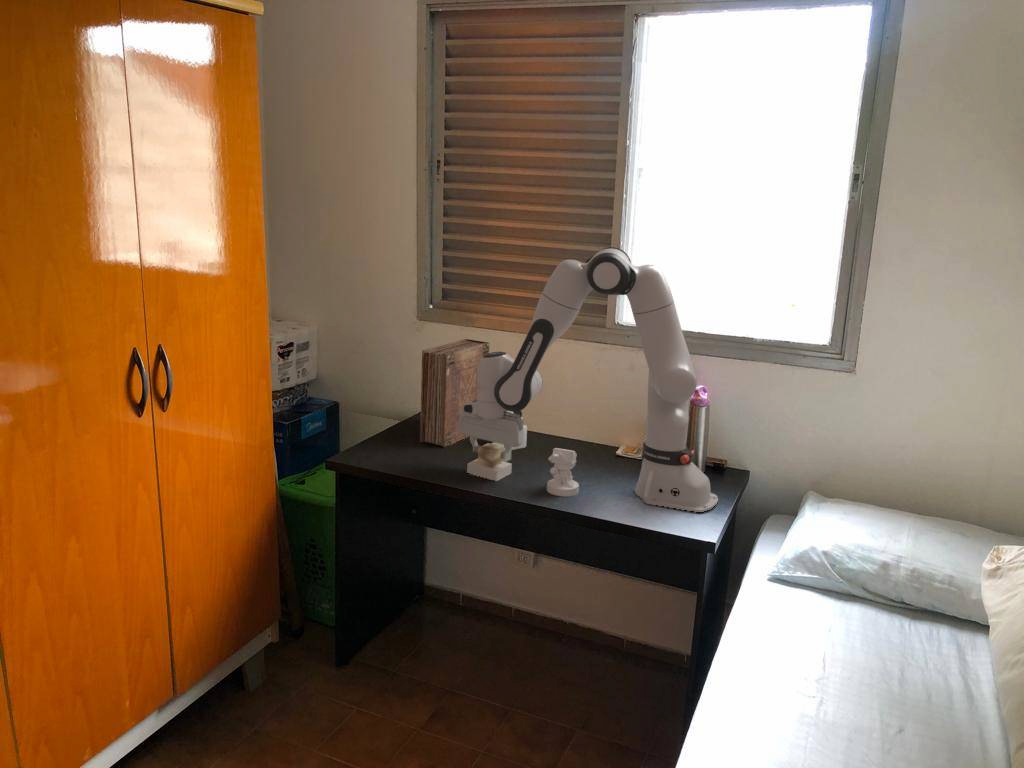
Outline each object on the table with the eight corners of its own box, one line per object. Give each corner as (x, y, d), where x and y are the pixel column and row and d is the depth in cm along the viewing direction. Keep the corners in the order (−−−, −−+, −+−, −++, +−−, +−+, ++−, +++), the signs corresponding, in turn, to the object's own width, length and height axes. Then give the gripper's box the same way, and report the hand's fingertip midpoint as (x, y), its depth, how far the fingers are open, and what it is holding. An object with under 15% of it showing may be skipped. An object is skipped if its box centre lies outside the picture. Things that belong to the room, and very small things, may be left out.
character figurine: (542, 493, 221) (545, 451, 218) (553, 481, 230) (555, 441, 227) (573, 498, 219) (576, 456, 216) (583, 486, 227) (585, 446, 224)
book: (443, 448, 253) (446, 354, 246) (419, 443, 258) (421, 350, 250) (486, 429, 275) (489, 342, 267) (463, 424, 279) (466, 338, 272)
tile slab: (511, 473, 235) (511, 463, 234) (496, 481, 228) (496, 471, 227) (482, 465, 240) (482, 456, 239) (467, 473, 233) (467, 463, 232)
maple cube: (501, 463, 234) (502, 446, 233) (492, 467, 230) (493, 451, 229) (487, 459, 237) (488, 443, 235) (477, 464, 232) (478, 447, 231)
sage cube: (511, 459, 247) (511, 443, 246) (502, 463, 243) (503, 447, 241) (497, 456, 249) (497, 440, 248) (488, 460, 245) (488, 444, 244)
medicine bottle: (512, 441, 264) (514, 405, 261) (526, 447, 258) (528, 411, 255) (495, 444, 259) (496, 408, 256) (508, 451, 254) (510, 414, 251)
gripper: (529, 412, 227) (527, 459, 230) (468, 400, 237) (467, 445, 240) (517, 417, 221) (515, 465, 225) (456, 404, 232) (454, 450, 235)
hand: (490, 455), depth 233 cm, fingers open, 8 cm apart
